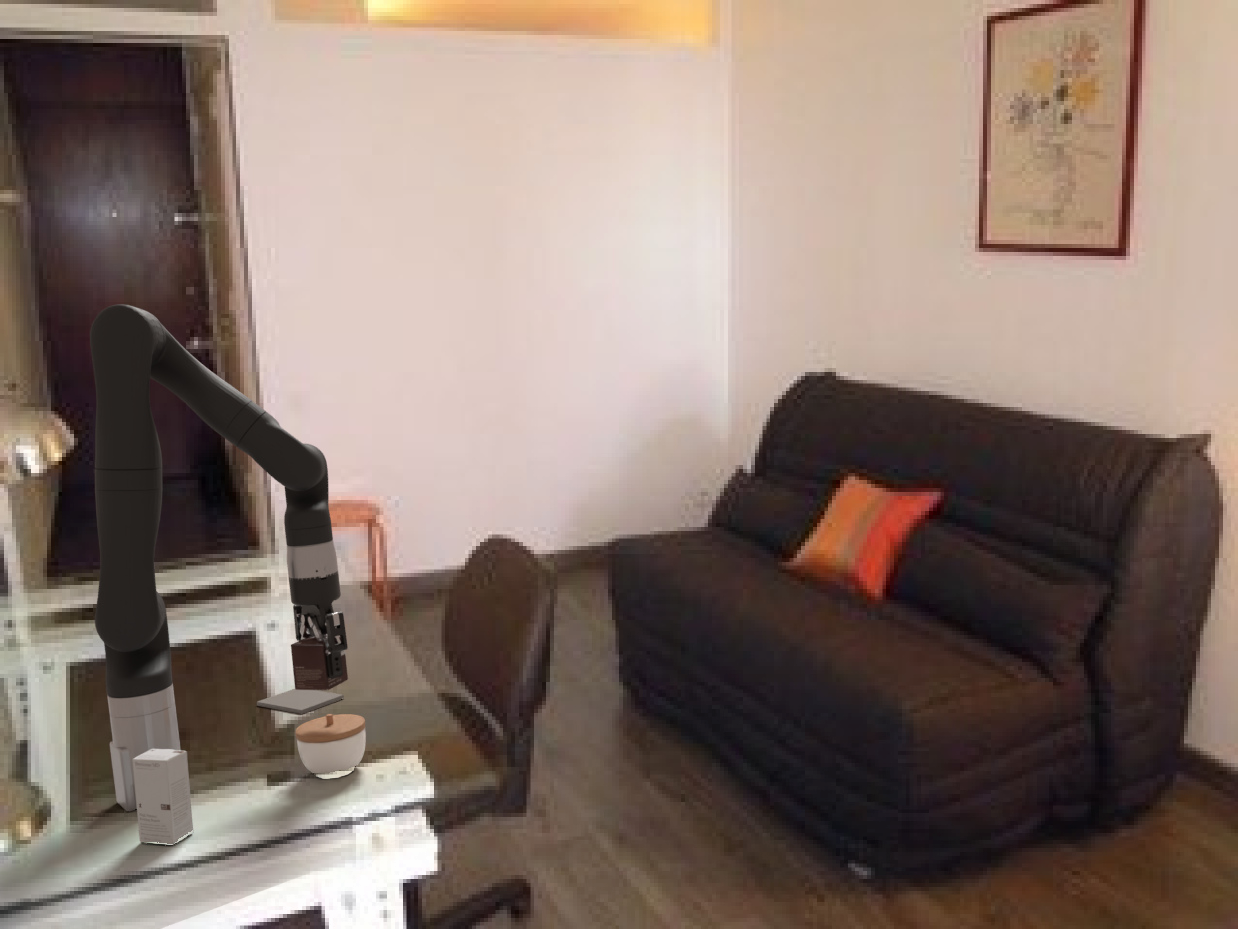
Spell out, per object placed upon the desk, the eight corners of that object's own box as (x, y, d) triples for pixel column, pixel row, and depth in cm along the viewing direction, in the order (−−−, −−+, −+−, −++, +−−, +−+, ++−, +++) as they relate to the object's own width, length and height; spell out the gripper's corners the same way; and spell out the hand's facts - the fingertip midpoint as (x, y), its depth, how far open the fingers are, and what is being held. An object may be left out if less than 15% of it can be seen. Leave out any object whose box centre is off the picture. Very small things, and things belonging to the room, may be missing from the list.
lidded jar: (379, 758, 173) (373, 702, 173) (355, 784, 163) (349, 724, 162) (316, 761, 175) (310, 705, 174) (289, 786, 164) (282, 727, 163)
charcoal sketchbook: (302, 714, 201) (301, 710, 201) (257, 705, 210) (256, 701, 210) (343, 698, 209) (343, 694, 209) (299, 691, 218) (298, 687, 218)
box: (327, 691, 163) (322, 645, 163) (293, 690, 165) (289, 644, 164) (349, 680, 169) (344, 634, 168) (316, 679, 171) (312, 634, 170)
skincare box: (138, 844, 147) (127, 759, 146) (161, 830, 151) (151, 747, 150) (175, 847, 145) (164, 760, 144) (197, 832, 149) (187, 749, 148)
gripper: (272, 571, 169) (283, 671, 170) (308, 580, 158) (320, 686, 159) (317, 563, 174) (328, 660, 175) (355, 571, 163) (366, 674, 164)
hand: (324, 672), depth 167 cm, fingers closed on box, 8 cm apart
